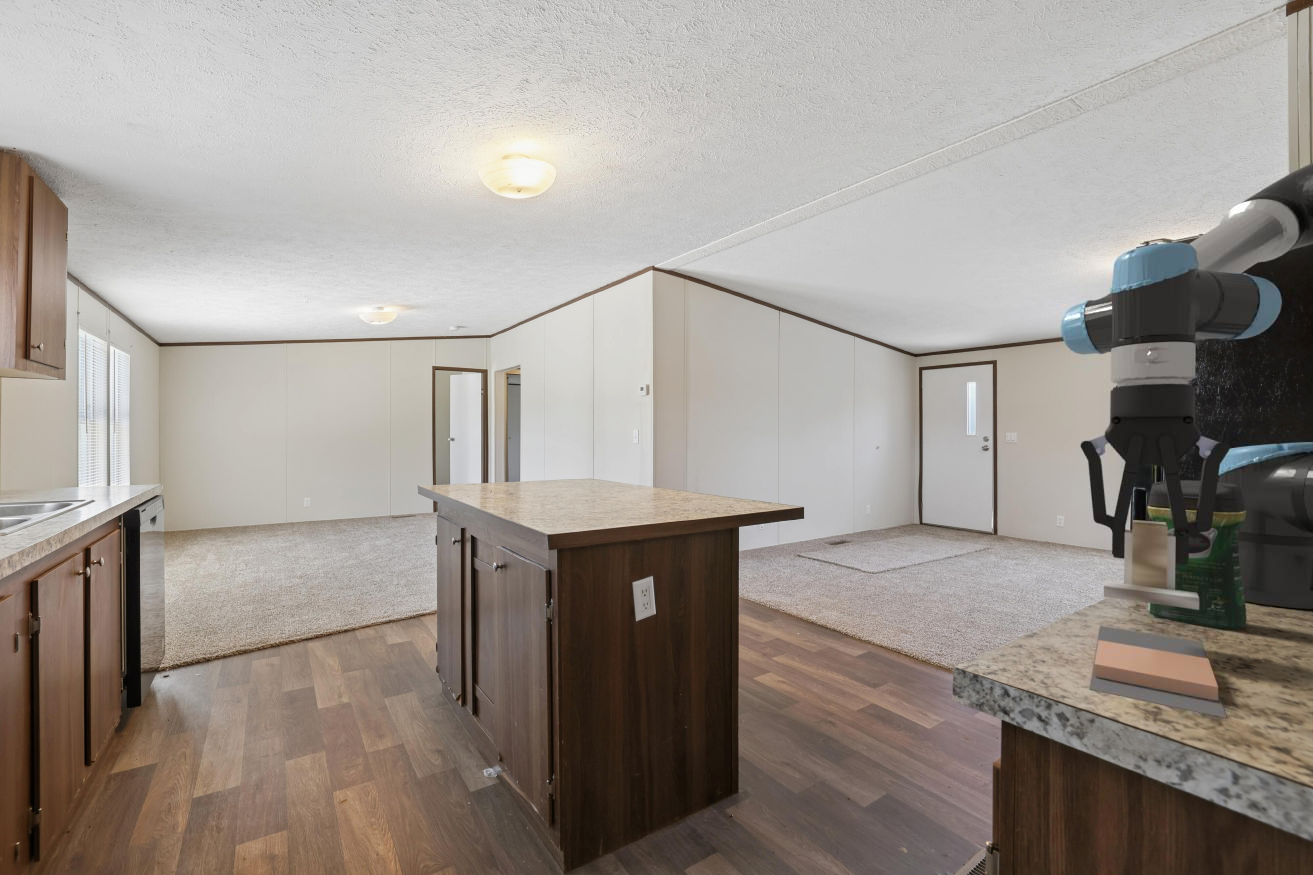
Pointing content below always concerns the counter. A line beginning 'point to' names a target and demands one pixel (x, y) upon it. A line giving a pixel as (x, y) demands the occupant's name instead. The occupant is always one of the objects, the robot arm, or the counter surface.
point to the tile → (1156, 669)
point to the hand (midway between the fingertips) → (1148, 589)
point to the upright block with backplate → (1150, 570)
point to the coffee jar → (1206, 558)
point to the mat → (1148, 693)
